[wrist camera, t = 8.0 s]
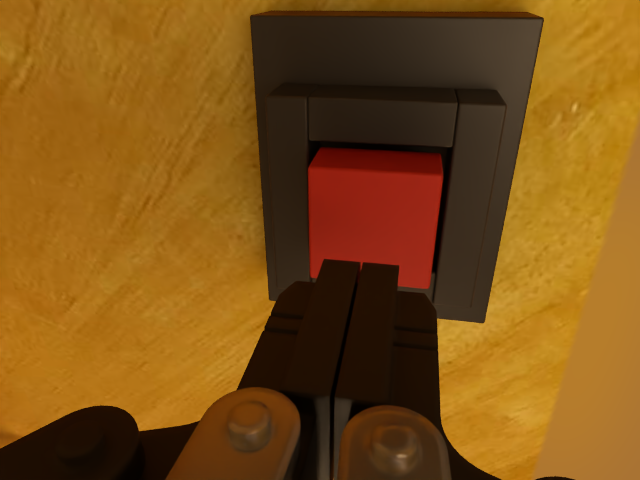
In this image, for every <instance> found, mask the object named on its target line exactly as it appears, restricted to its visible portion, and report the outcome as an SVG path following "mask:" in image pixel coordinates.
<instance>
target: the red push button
mask: <svg viewBox="0 0 640 480" xmlns="http://www.w3.org/2000/svg"><path fill="white" fill-rule="evenodd" d="M250 22H251V37H252V52H253V66H254V81H255V96H256V111H257V126H258V141H259V156H260V171H261V186H262V201H263V216H264V231H265V246H266V261H267V276H268V291H269V300H271V301H276V300H277V298H278V296H279V294H280V293H282V292H283V291H284V290H285V289H286V288H288V287H289V286H290V285H291V284H292V283H294V282H295V281H305V282H316V280H317V278H312V277H311V276H310V256H309V199H308V167H309V165H310V164H311V162H312V160H313V159H314V157H315V155H316V154H317V152H318V150H319V149H320V148H321V147H332V148H351V149H370V150H389V151H408V152H427V153H439V154H441V159H442V169H443V183H442V191H441V199H440V207H439V215H438V224H437V232H436V240H435V248H434V256H433V264H432V272H431V280H430V287H429V288H428V289H422V288H412V287H401V286H398V288H397V291H407V292H418V293H425V294H426V296H427V297H428V299H429V300H430V302H431V303H432V305H433V306H434V308H435V309H436V311H437V318H439V319H448V320H458V321H467V322H476V323H484V322H485V317H486V312H487V307H488V302H489V297H490V291H491V286H492V281H493V276H494V271H495V266H496V261H497V256H498V251H499V246H500V241H501V235H502V230H503V225H504V220H505V215H506V210H507V205H508V200H509V195H510V190H511V185H512V179H513V174H514V169H515V164H516V159H517V154H518V149H519V144H520V139H521V134H522V128H523V123H524V118H525V113H526V108H527V103H528V98H529V93H530V88H531V83H532V78H533V72H534V67H535V62H536V57H537V52H538V47H539V42H540V37H541V32H542V27H543V22H544V18H542V17H540V16H537V15H534V14H531V13H528V12H413V11H268V12H263V13H259V14H254V15H251V16H250Z"/></svg>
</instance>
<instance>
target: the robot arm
mask: <svg viewBox="0 0 640 480" xmlns="http://www.w3.org/2000/svg"><path fill="white" fill-rule="evenodd" d="M398 276H399V265H390V264H379V263H368V262H363V264H362V268H361V263H360V262H356V261H345V260H333V259H324V260H323V262H322V265H321V268H320V271H319V274H318V277H317V280H316V282H305V281H295V282H294V283H292V284H291V285H290V286H289V287H288V288H286V289H285V290H284V291H283V292H282V293H280V294H279V296H278V298H277V300H276V303H275V305H274V307H273V309H272V312H271V316H269V318H268V321H267V323H266V325H265V329H264V331H263V332H262V334H261V336H260V339H259V341H258V343H257V345H256V348H255V350H254V352H253V354H252V357H251V359H250V361H249V363H248V366H247V368H246V370H245V372H244V375H243V377H242V379H241V381H240V383H239V386H238V388H237V390H236V391H233V392H231V393H228V394H226V395H224V396H223V397H221V398H219V399H218V400H217V401H215V402H214V403H213V404H212V405H211V406H210V407H209V408H208V409H207V411H206V412H205V414H204V415H203V417H202V418H201V420H200V421H198V422H194V423H191V424H187V425H182V426H176V427H168V428H161V429H154V430H146V431H139V430H138V427H137V424H136V422H135V420H134V418H133V417H132V416H131V415H130V414H129V413H128V412H126V411H125V410H123V409H120V408H118V407H113V406H93V407H88V408H84V409H81V410H78V411H75V412H72V413H70V414H68V415H66V416H64V417H62V418H60V419H58V420H56V421H54V422H52V423H50V424H48V425H46V426H44V427H42V428H40V429H38V430H36V431H34V432H32V433H30V434H28V435H26V436H24V437H22V438H20V439H18V440H17V441H15V442H13V443H11V444H9V445H7V446H5V447H3V448H1V449H0V480H333V479H334V480H501V479H499V478H497V477H495V476H492V475H490V474H488V473H486V472H484V471H482V470H480V469H478V468H477V467H475V466H474V465H472V464H471V463H469V462H468V461H467V460H466V459H464V458H463V457H462V456H461V455H460V454H459V453H458V452H457V451H456V450H455V449H454V448H453V446H452V445H451V443H450V442H449V441H448V439H447V437H446V435H445V433H444V430H443V427H442V424H441V417H440V390H439V363H438V336H437V311H436V309H435V308H434V306H433V305H432V303H431V302H430V300H429V299H428V297H427V296H426V294H425V293H418V292H407V291H397V288H398ZM536 480H574V479H570V478H566V477H556V476H555V477H544V478H539V479H536Z"/></svg>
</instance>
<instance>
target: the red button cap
mask: <svg viewBox="0 0 640 480" xmlns="http://www.w3.org/2000/svg"><path fill="white" fill-rule="evenodd" d="M442 183H443V169H442V159H441V154H439V153H427V152H408V151H389V150H370V149H351V148H332V147H321V148H320V149H319V150H318V152H317V154H316V155H315V157H314V159H313V160H312V162H311V164H310V165H309V167H308V199H309V256H310V276H311V277H312V278H317V277H318V274H319V271H320V268H321V265H322V262H323V260H324V259H333V260H345V261H356V262H360V263H361V268H362V264H363V262H368V263H379V264H390V265H399V276H398V286H401V287H412V288H422V289H428V288H429V287H430V280H431V272H432V264H433V256H434V248H435V240H436V232H437V224H438V215H439V207H440V199H441V191H442Z"/></svg>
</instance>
